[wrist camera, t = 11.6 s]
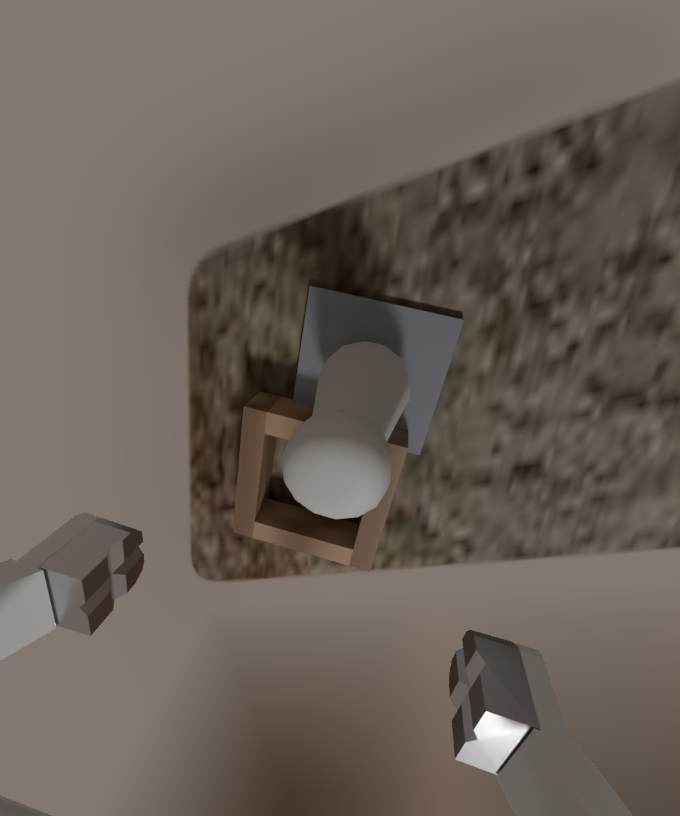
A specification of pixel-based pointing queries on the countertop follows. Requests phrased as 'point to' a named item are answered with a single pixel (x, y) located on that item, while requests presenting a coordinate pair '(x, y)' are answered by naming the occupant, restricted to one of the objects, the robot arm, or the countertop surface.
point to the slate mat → (387, 325)
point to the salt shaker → (348, 432)
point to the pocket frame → (293, 523)
